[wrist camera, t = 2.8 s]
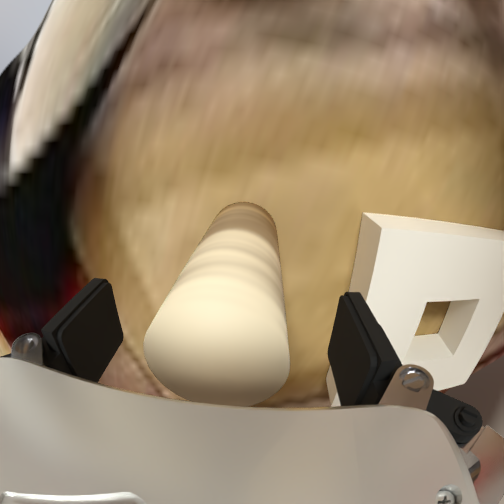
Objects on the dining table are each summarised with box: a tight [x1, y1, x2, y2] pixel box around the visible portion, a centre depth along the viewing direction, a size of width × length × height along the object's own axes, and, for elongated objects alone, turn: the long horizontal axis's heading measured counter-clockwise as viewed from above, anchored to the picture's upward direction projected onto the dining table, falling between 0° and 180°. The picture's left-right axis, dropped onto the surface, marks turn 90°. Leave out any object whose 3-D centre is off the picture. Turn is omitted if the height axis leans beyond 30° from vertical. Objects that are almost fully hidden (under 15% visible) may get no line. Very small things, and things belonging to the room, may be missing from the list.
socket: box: [326, 212, 504, 407], centre depth 19 cm, size 16×16×4 cm
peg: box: [144, 202, 290, 407], centre depth 13 cm, size 4×4×12 cm
